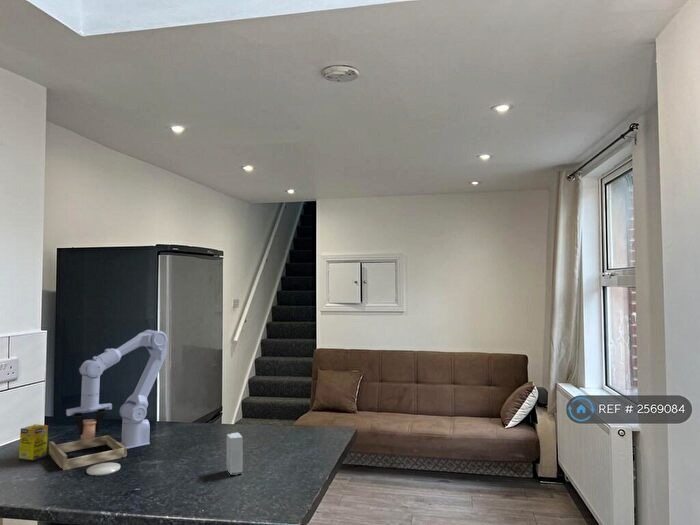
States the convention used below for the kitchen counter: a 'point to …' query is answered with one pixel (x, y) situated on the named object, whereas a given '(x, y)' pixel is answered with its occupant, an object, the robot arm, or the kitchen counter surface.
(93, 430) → the peach drawer knob
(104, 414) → the robot arm
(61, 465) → the frame
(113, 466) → the saucer
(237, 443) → the skincare box
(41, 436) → the supplement box
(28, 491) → the kitchen counter surface
